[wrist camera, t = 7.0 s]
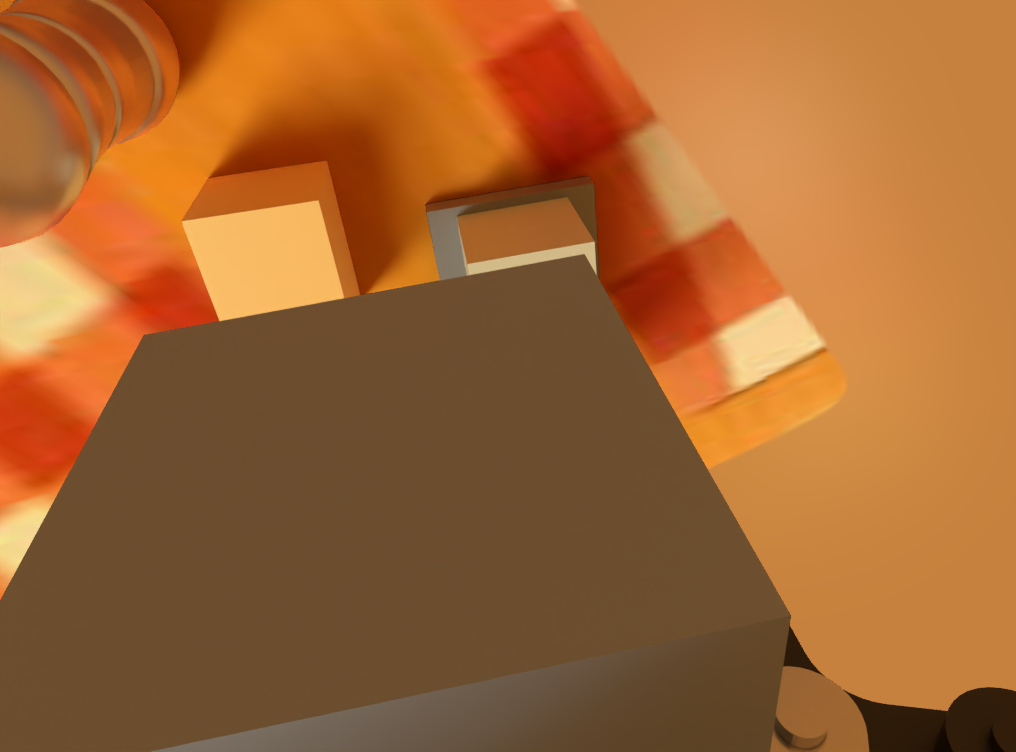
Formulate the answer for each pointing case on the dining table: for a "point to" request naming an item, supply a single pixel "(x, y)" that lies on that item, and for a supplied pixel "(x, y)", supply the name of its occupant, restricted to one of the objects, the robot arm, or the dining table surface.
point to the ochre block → (270, 240)
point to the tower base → (500, 199)
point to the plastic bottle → (73, 99)
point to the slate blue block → (394, 543)
